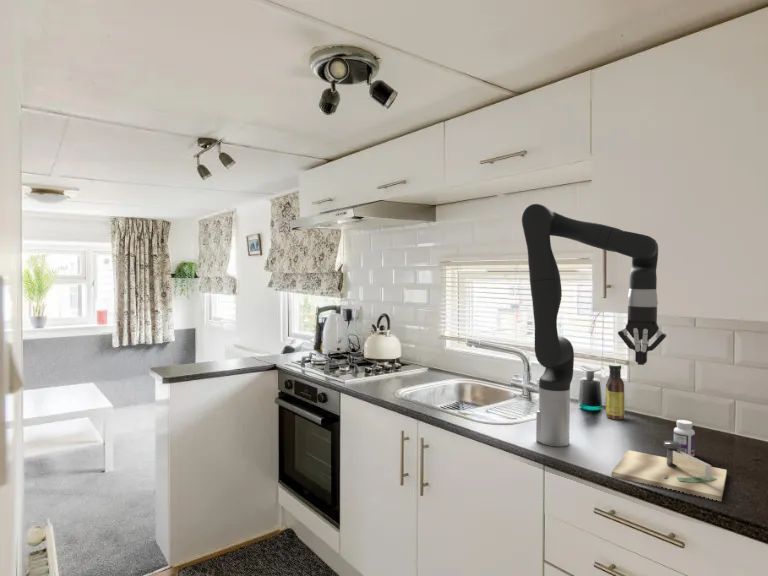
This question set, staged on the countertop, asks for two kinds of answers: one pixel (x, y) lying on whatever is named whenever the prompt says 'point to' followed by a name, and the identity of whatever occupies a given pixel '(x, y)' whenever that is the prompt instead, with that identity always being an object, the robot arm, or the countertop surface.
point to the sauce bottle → (615, 393)
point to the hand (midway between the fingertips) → (641, 364)
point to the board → (669, 475)
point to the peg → (686, 461)
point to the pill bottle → (685, 437)
